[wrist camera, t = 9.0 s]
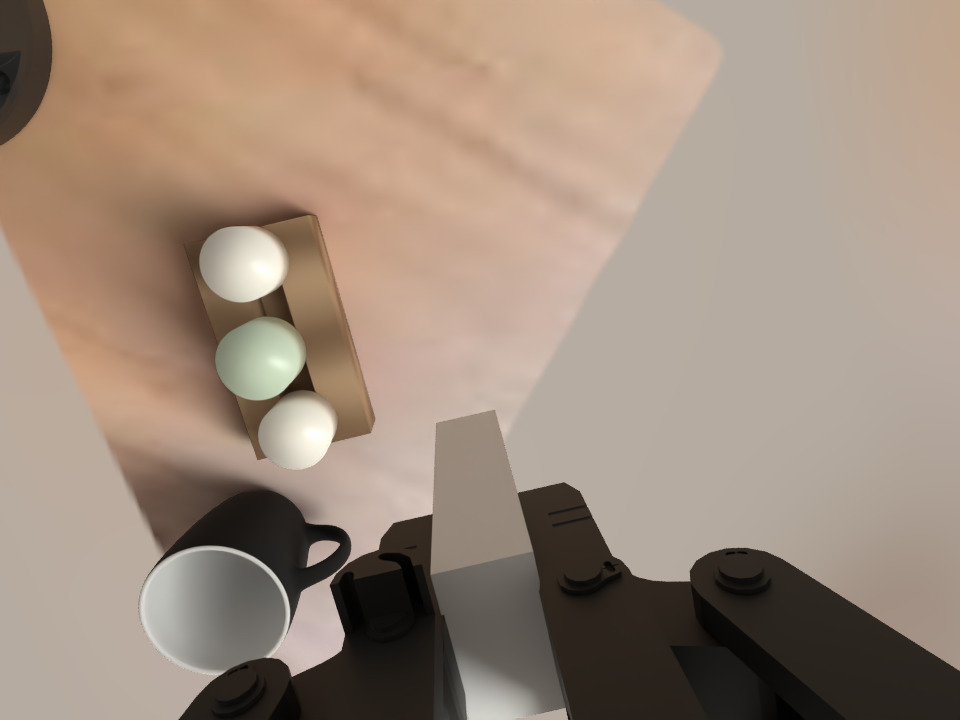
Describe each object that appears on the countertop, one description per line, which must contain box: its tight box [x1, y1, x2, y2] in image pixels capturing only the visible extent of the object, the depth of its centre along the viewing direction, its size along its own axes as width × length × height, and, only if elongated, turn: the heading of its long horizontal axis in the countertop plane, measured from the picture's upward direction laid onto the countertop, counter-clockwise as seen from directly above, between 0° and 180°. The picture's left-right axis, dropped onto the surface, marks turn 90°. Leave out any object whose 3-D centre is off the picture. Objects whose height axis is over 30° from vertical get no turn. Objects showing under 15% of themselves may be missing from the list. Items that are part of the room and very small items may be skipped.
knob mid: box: [215, 317, 306, 400], centre depth 37 cm, size 4×4×5 cm
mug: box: [139, 491, 351, 675], centre depth 41 cm, size 12×9×10 cm
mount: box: [184, 215, 375, 460], centre depth 41 cm, size 15×8×3 cm, turn 13°
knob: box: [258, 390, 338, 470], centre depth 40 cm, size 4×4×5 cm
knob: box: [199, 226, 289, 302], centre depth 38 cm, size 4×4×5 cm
